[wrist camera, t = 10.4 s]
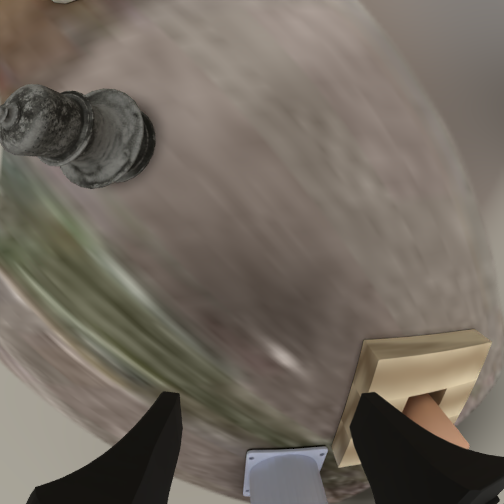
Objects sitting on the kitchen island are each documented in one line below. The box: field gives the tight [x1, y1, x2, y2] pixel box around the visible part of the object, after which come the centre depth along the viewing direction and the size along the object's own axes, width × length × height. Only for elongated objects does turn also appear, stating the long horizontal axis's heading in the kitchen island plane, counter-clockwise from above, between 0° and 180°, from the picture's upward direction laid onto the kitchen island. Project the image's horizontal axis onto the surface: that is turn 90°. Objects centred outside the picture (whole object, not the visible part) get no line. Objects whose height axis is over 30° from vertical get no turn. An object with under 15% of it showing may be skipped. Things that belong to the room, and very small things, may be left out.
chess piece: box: [0, 84, 155, 189], centre depth 12 cm, size 6×6×12 cm
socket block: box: [331, 329, 492, 468], centre depth 22 cm, size 13×13×3 cm
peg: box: [402, 393, 469, 449], centre depth 19 cm, size 3×3×10 cm
